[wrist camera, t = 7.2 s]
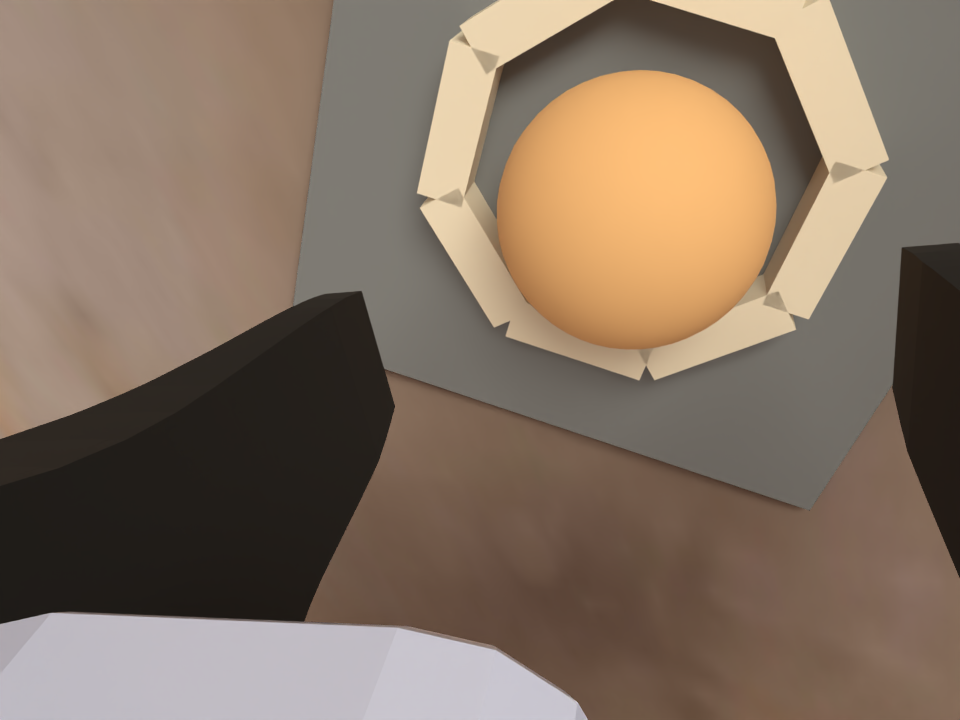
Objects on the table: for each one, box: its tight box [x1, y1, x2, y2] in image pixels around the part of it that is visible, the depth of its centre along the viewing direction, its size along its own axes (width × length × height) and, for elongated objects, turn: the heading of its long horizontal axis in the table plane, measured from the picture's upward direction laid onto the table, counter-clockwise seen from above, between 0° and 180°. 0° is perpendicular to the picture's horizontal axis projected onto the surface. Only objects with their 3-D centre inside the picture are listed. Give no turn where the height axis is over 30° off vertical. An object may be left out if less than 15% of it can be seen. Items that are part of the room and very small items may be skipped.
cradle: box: [293, 0, 960, 511], centre depth 17 cm, size 14×14×1 cm
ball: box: [497, 70, 777, 349], centre depth 15 cm, size 5×5×5 cm
